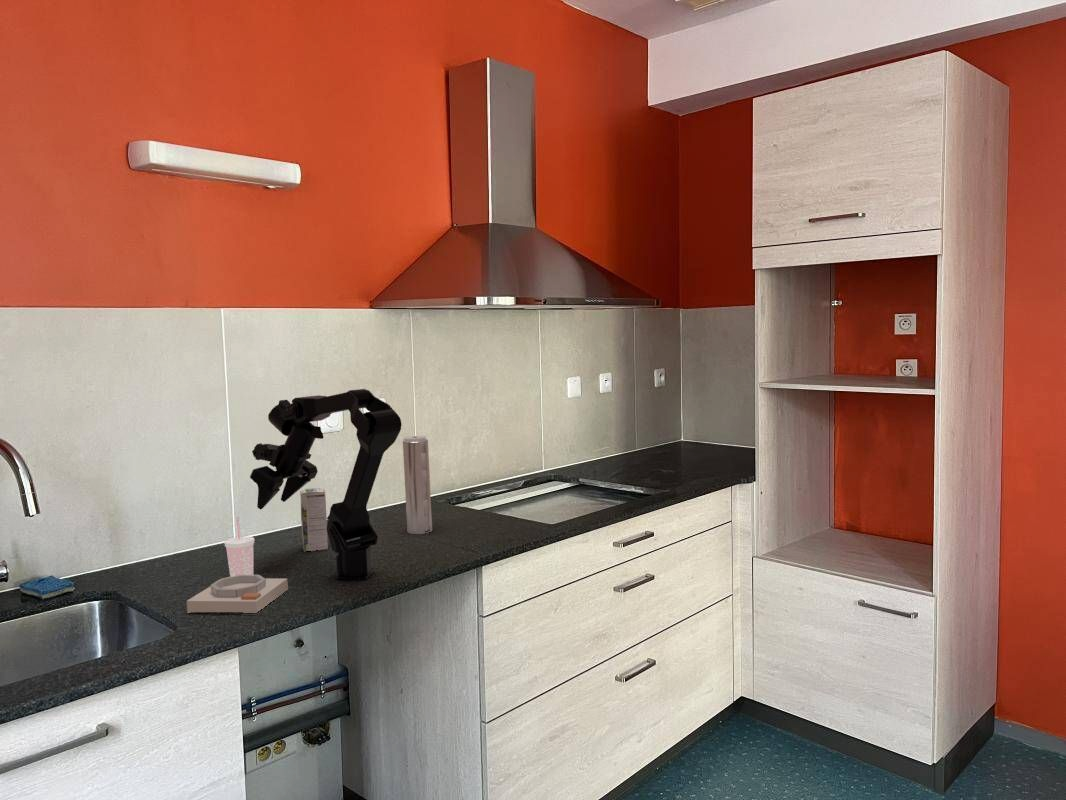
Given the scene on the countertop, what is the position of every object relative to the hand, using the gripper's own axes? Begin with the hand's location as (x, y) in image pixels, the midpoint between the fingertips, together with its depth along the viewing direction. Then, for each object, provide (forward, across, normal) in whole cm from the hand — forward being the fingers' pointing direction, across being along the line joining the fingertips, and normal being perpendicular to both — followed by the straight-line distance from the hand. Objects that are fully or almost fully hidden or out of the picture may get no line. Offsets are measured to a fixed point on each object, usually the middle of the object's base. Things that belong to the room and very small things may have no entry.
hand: (271, 504), depth 189 cm
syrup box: (+10, -13, +10) cm, 19 cm away
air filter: (0, -32, +26) cm, 41 cm away
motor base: (+8, +26, +15) cm, 31 cm away
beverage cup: (+12, +14, +8) cm, 20 cm away
